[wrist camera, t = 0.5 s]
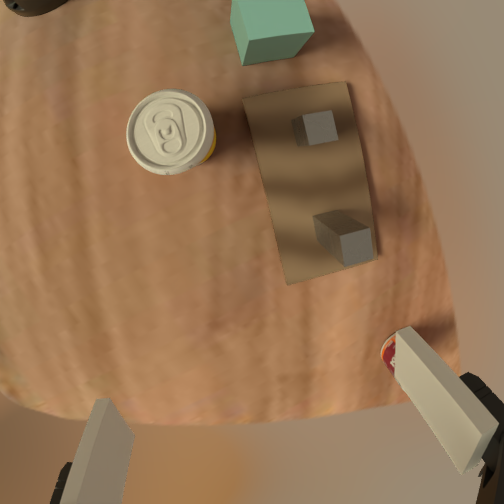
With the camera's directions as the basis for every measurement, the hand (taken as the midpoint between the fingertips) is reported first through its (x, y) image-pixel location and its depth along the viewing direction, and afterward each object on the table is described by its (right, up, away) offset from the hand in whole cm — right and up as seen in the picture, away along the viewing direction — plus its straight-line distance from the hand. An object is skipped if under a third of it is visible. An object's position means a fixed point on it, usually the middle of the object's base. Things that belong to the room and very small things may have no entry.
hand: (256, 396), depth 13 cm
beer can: (-7, +18, +21) cm, 29 cm away
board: (+7, +14, +23) cm, 28 cm away
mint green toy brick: (+1, +30, +18) cm, 35 cm away
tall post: (+8, +9, +24) cm, 27 cm away
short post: (+6, +19, +20) cm, 29 cm away
